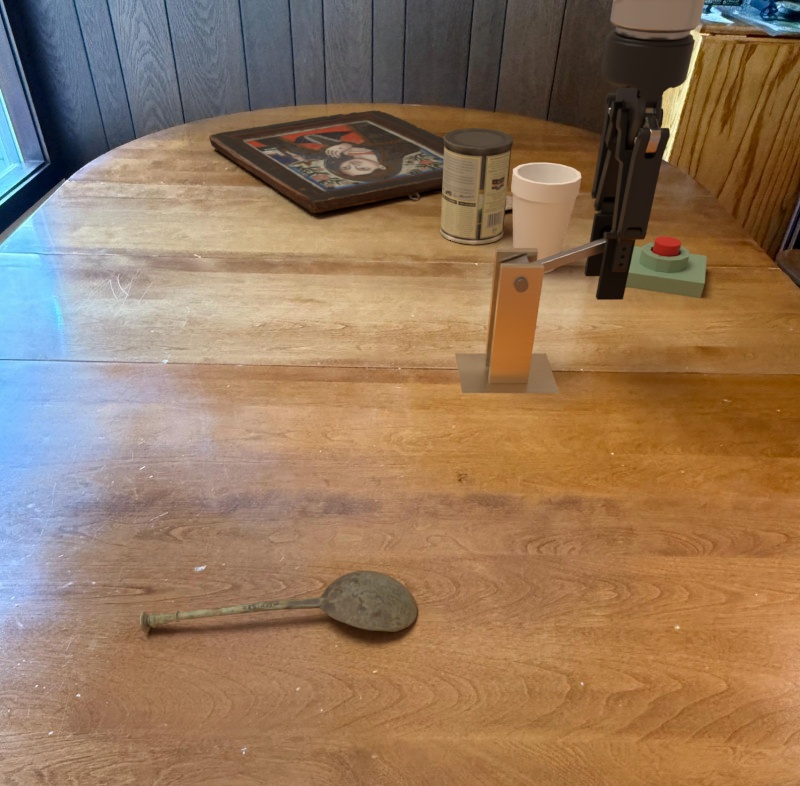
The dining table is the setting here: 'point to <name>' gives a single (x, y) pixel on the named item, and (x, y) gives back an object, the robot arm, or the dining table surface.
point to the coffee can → (475, 185)
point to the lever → (568, 253)
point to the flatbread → (509, 203)
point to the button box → (667, 272)
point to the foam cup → (543, 205)
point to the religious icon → (339, 158)
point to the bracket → (510, 333)
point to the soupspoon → (329, 604)
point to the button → (666, 246)
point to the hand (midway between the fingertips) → (603, 285)
